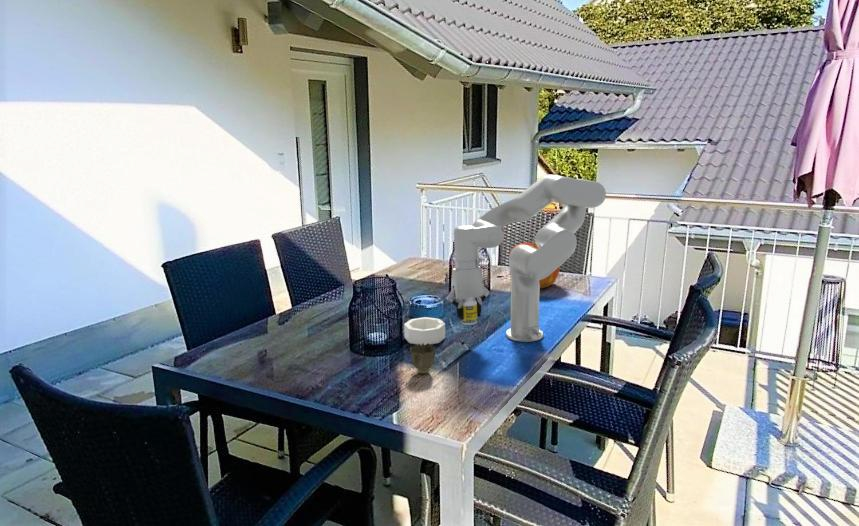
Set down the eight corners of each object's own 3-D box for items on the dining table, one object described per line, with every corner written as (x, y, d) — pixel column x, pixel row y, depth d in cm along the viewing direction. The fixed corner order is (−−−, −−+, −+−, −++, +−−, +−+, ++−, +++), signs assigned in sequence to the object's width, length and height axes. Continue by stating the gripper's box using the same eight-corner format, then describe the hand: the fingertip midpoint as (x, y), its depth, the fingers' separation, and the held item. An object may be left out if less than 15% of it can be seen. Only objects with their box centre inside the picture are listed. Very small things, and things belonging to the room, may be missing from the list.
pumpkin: (502, 290, 256) (502, 245, 252) (515, 277, 277) (515, 235, 272) (555, 294, 248) (557, 248, 243) (565, 281, 268) (566, 237, 263)
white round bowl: (449, 341, 199) (449, 327, 198) (412, 346, 195) (412, 332, 194) (436, 328, 211) (435, 315, 210) (401, 334, 207) (400, 320, 206)
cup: (407, 370, 177) (406, 345, 175) (429, 365, 180) (429, 341, 178) (416, 379, 171) (415, 354, 169) (439, 375, 173) (439, 349, 172)
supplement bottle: (465, 326, 192) (464, 297, 189) (458, 321, 197) (457, 293, 194) (480, 323, 194) (479, 294, 191) (472, 318, 199) (471, 290, 196)
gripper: (486, 258, 196) (487, 309, 201) (438, 265, 191) (440, 318, 196) (496, 262, 190) (497, 316, 194) (446, 270, 184) (449, 325, 189)
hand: (469, 316), depth 195 cm, fingers closed on supplement bottle, 5 cm apart
